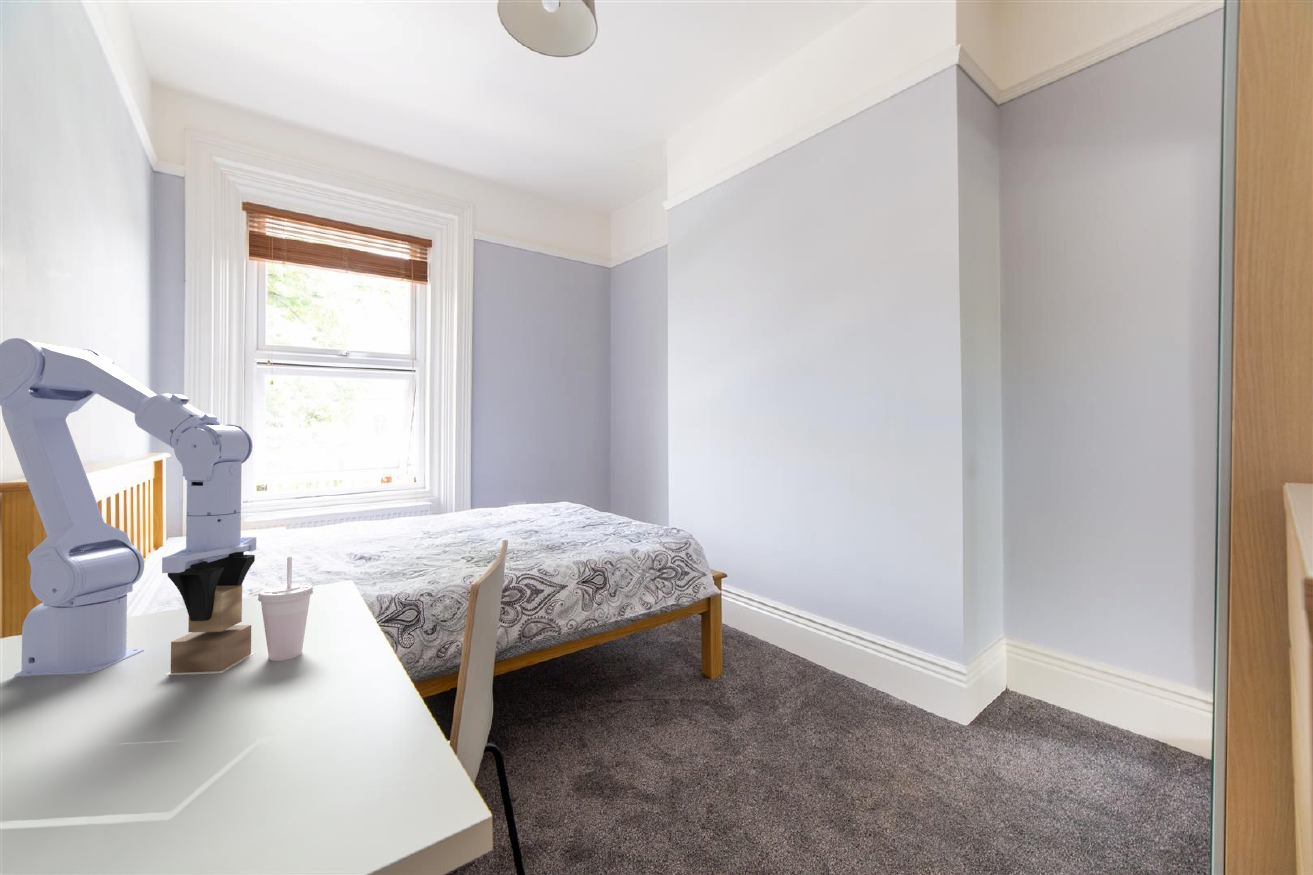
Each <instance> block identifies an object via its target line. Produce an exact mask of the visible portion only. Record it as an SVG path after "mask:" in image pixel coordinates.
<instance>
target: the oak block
mask: <svg viewBox="0 0 1313 875" xmlns="http://www.w3.org/2000/svg"><path fill="white" fill-rule="evenodd" d="M242 611H243V585H242V586H217V587H216V591H215V596H214V606H213V612H212V616H211V619H209V620H207V621H190V618H189V617H188V628H187V629H188V631H187V632H188V633H192V632H221V631H223V630H225V629H227V628H229V627H232V626H236V625H237V624H240V623H242V622H243V621H242V620H243V619H242V618H243V617H242V616H243V612H242Z"/></svg>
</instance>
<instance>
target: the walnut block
mask: <svg viewBox="0 0 1313 875" xmlns="http://www.w3.org/2000/svg"><path fill="white" fill-rule="evenodd" d="M251 653H252V625H251V624H248V625H247V624H244V625H243V624H242V625H237V624H236V625H234V626H232V627H229V628H227V629H225V630H223V631H221V632H189V633H188V634H186V635H185V634H184V636H181V637H179V638H177V639H174V640H172V641H171V642H170V672H171V673H190V672H219V671H222V670H224V669H226V668H227V667H229V666H231V665H232V664H234V663H236V662H238V661H239V660H241V659H243V658H244V657H246V656H248V655H250V654H251Z"/></svg>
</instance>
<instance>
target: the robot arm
mask: <svg viewBox="0 0 1313 875" xmlns="http://www.w3.org/2000/svg"><path fill="white" fill-rule="evenodd" d="M96 394H97V395H98V396H100V397H102V398H104V399H106V400H108V401H109V402H111V403H113V404H116V405H117V406H119V407H121V408H123V409H125V410H126V411H129V412H131V413H133V414H134V422H135V424H136V426H137V427H138V428H140V429H141V430H142V431H144V432H146V433H147V434H149V435H151V436H152V437H154V438H156V439H157V440H159V441H161V442H162V443H164V444H166V445H167V446H169V447H170V448H172V449H173V452H174V455H175V457H176V460H177V461H178V463H180V464H181V467H182V477H184V479H185V480H186V517H185V519H186V520H185V521H186V522H185V526H186V528H185V533H186V534H185V548H183V549H180V550H179V551H175V553H172V554H170V555H167V556H164V557H162V559H161V560H162V561H161V574H167V578H169V580H170V581H171V582H172V583H173V584H174V585H175V587H176V588H177V590H178V592H179V594H180V595H181V597H182V600H183V602H184V605H185V608H186V609H185V610H186V612H187V615H188V619H189V618H190V621H207V620H209V619H211V616H212V612H213V606H214V596H215V591H216V587H217V586H242V587H243V584H244V580H245V578H246V576H247V573H248V572H249V570H250V569H251V567H252V565H253V564H254V563H255V561H256V555H255V554H244V553H245V552H254V551H256V550H257V537H256V536H255V537H254V536H248V537H246V536H245V537H244V536H243V537H241V536H242V535H241V534H242V533H241V531H242V529H241V528H242V523H241V522H242V466H243V464H244V463H246V462H247V460H249V458H250V456H251V455H252V452H253V441H252V438H251V435H250V434H249V433H248V432H247V431H246V430H245V429H244V428H243V427H242V426H241V425H237V424H230V423H229V424H224V425H223V424H222V423H221V422H219V421H218V417H217V416H216V415H213V414H212V413H211V414H210V413H205V412H204V411H203V412H202V410H200V409H198V408H196V407H195V406H193V405H191V404H190V403H189V402H190V399H189V397H186V396H185V395H183V394H177V393H173V394H172V393H160V394H156V393H155V392H153V391H152V390H150V388H148V387H147V386H145V385H143V384H142V383H140V382H139V381H137V380H136V379H135V378H133V377H131V375H129V374H128V373H126V372H125V371H123V370H122V369H121V368H119V367H118V366H116V365H115V361H114V359H112V358H109V357H108V356H107V357H106V356H103V355H102V353H100V352H98V351H96V350H93V349H81V348H73V347H67V346H62V345H61V346H60V345H55V344H50V343H49V344H48V343H43V342H37V341H36V342H35V341H32V340H28V339H27V338H26V339H25V338H20V337H16V338H15V337H13V338H8V339H6V340H4V341H2V342H1V343H0V407H1V408H0V409H1V416H2V419H3V421H4V425H5V427H6V428H5V429H6V430H7V433H8V436H9V438H10V441H11V443H12V446H13V448H14V451H15V453H16V456H17V459H18V462H19V465H20V467H21V470H22V473H23V475H24V478H25V480H26V483H27V485H28V488H29V491H30V494H31V496H32V500H33V502H34V504H35V507H36V509H37V513H38V515H39V517H40V520H41V523H42V525H43V528H44V531H45V533H46V537H45V538H44V539H43V541H42V542H40V543H39V544H38V545H37V546H36V547H35V548H34V549H33V550H32V551H31V552H30V553H29V554H28V555H27V559H28V562H29V565H30V579H29V583H30V584H29V585H30V589H31V592H32V593H33V594H34V596H35V597H36V598H37V599H38V600H39V601H40V602H42V603H39V604H38V605H36V606H35V607H33V608H32V609H31V610H29V612H28V613H27V615H26V616H25V619H24V621H23V623H22V626H21V627H22V629H21V666H20V667H21V671H19V672H16V673H14V678H16V677H32V676H52V675H53V676H56V675H57V676H59V675H81V674H84V675H85V674H94V673H97V672H100V671H103V670H104V669H106V668H108V667H111V666H113V665H115V664H118V663H120V662H122V661H124V660H126V659H129V658H131V657H133V656H136V655H139V654H140V653H142V652H144V651H145V649H144V648H127V633H128V632H127V628H128V626H127V625H128V621H127V620H128V594H129V593H131V592H133V585H135V584H136V583H137V582H138V581H140V579H141V577H142V576H143V574H144V571H145V559H144V557H143V554H142V553H141V552H140V550H139V549H138V548H136V546H134V545H133V543H132V542H131V540H130V538H129V536H128V533H127V532H125V531H123V530H121V529H119V528H117V527H114V526H113V525H110V524H108V523H107V522H105V521H104V518H103V516H102V513H101V510H100V507H99V505H98V502H97V500H96V497H95V494H94V492H93V489H92V486H91V483H90V481H89V478H88V477H87V474H86V471H85V469H84V466H83V463H82V460H81V458H80V454H79V453H78V450H77V447H76V445H75V442H74V440H73V439H74V438H73V436H72V434H71V432H70V428H69V426H68V423H67V420H66V419H67V417H68V416H69V415H70V414H72V413H74V412H75V413H76V412H77V411H79V410H80V409H81V408H83V407H84V406H85V405H86V404H87V403H88V402H89V401H90V400H91V399H93V397H94V396H95V395H96Z"/></svg>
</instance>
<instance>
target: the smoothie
mask: <svg viewBox="0 0 1313 875" xmlns="http://www.w3.org/2000/svg"><path fill="white" fill-rule="evenodd" d="M286 561H287V562H286V584H280V585H275V586H269V587H267V588H264V589H262V590H260V591H258V598H257V601H258V602H260V604H261V614H262V620H263V625H264V627H263V628H264V633H265V634H264V635H265V640H266V649H267V655H268V660H270V661H273V662H275V661H276V662H280V661H286V660H291V659H294V658H297V657H299V656H300V655H302V653H303V646H304V640H305V635H306V634H305V633H306V626H307V619H308V613H309V606H310V601H311V600H310V598H311V596H312V594H313V593H314V586H313V585H312V584H310V583H292V582H293V578H292V577H293V574H292V573H293V569H292V568H293V566H292V565H293V564H292V563H293V557H292V556H287V557H286Z"/></svg>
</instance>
